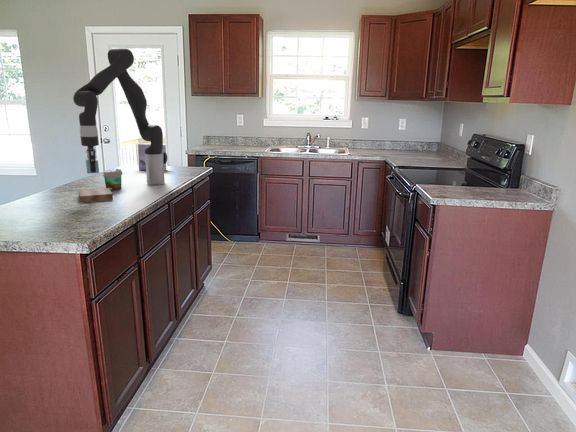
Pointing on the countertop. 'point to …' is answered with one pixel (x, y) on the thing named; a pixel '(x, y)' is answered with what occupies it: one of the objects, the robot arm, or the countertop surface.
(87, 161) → the teal block
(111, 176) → the food container
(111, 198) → the walnut base
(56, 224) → the countertop surface
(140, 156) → the cake pan box
